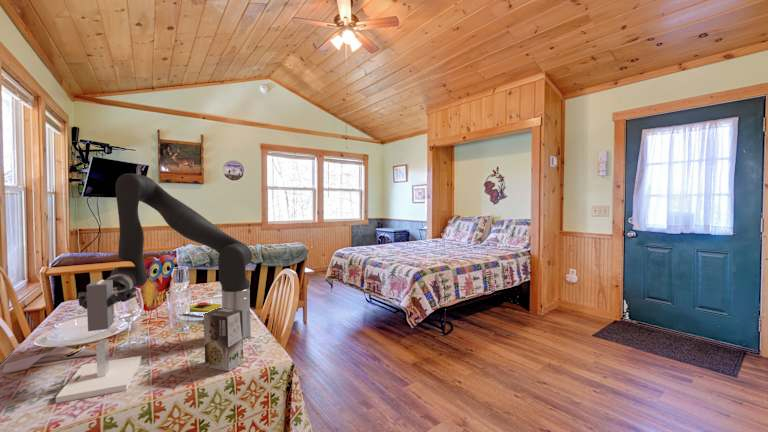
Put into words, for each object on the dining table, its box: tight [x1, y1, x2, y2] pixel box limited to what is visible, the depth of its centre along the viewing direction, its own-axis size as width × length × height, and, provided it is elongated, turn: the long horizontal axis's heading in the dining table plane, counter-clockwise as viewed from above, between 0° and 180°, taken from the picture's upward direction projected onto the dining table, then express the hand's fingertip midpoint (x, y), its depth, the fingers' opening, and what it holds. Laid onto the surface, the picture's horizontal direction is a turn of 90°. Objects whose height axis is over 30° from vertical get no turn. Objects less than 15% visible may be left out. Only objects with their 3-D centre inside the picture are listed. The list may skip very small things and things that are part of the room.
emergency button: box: [189, 301, 222, 312], centre depth 151 cm, size 9×4×15 cm
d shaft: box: [95, 338, 110, 378], centre depth 95 cm, size 3×2×9 cm, turn 25°
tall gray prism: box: [86, 279, 115, 332], centre depth 94 cm, size 6×4×12 cm
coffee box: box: [203, 307, 244, 372], centre depth 103 cm, size 9×6×16 cm
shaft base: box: [55, 355, 142, 404], centre depth 95 cm, size 18×14×2 cm
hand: (97, 303), depth 91 cm, fingers closed on tall gray prism, 4 cm apart
